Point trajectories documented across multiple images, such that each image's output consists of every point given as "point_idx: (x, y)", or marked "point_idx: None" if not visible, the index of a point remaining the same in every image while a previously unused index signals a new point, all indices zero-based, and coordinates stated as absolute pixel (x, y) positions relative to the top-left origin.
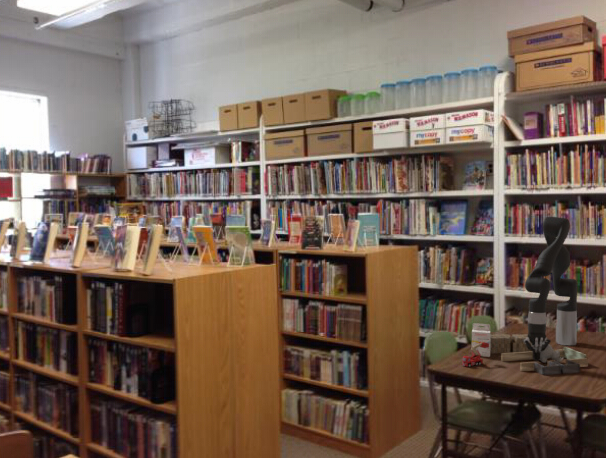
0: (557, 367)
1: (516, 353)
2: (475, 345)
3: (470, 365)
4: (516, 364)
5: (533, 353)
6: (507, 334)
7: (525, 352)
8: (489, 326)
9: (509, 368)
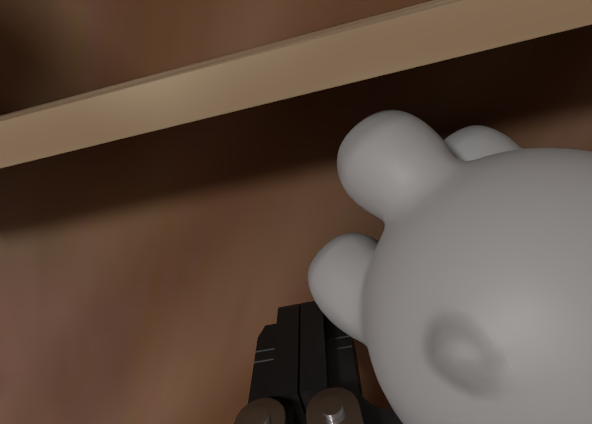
0: None
1: (23, 161)
2: None
3: None
4: (80, 289)
5: (259, 397)
6: None
7: (196, 120)
8: None
9: (8, 398)
